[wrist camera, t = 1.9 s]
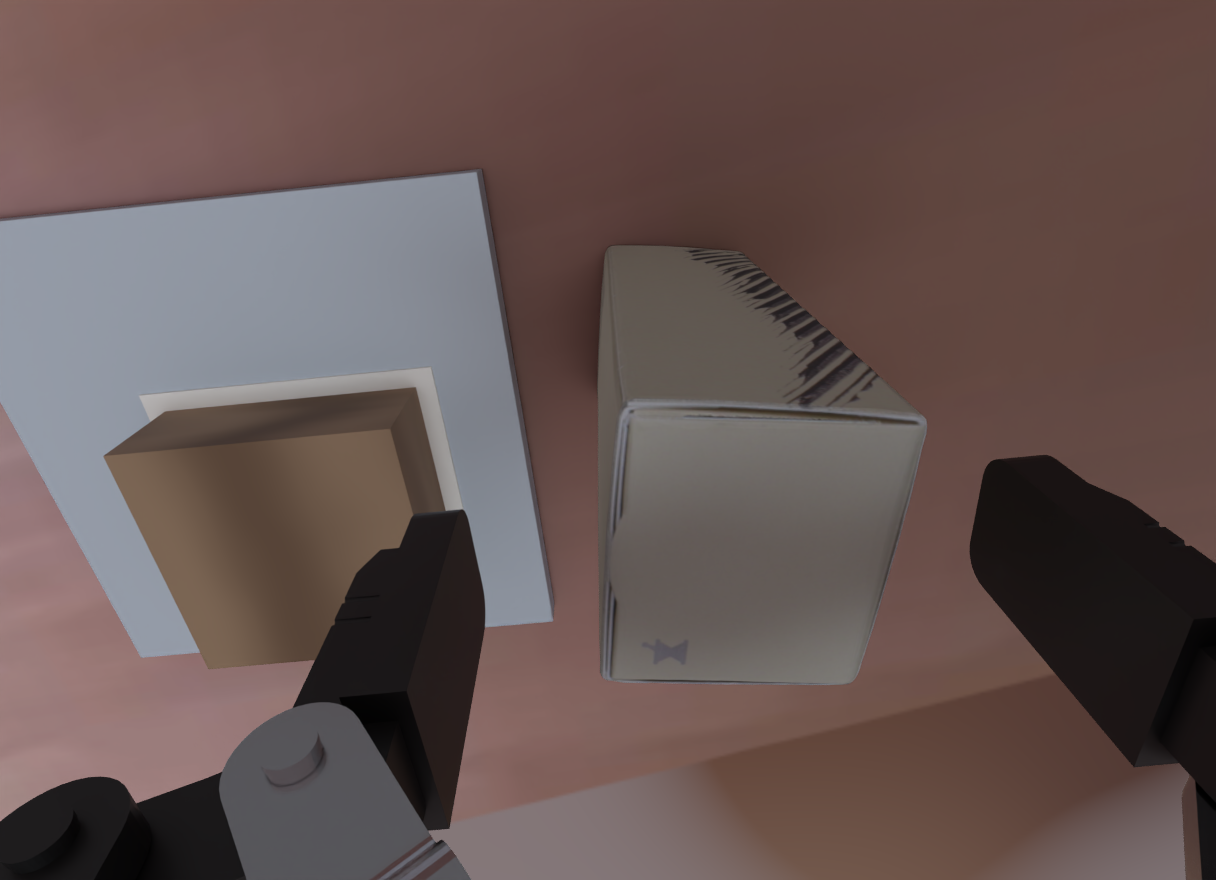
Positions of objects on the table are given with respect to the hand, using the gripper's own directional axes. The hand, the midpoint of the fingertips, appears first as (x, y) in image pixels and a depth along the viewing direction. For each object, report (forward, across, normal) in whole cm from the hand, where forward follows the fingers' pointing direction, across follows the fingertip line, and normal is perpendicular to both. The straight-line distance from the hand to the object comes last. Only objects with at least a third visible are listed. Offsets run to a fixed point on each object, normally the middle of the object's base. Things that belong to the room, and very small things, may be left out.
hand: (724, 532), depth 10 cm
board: (+12, +12, +3) cm, 18 cm away
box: (+12, 0, 0) cm, 12 cm away
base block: (+11, +12, +5) cm, 17 cm away
